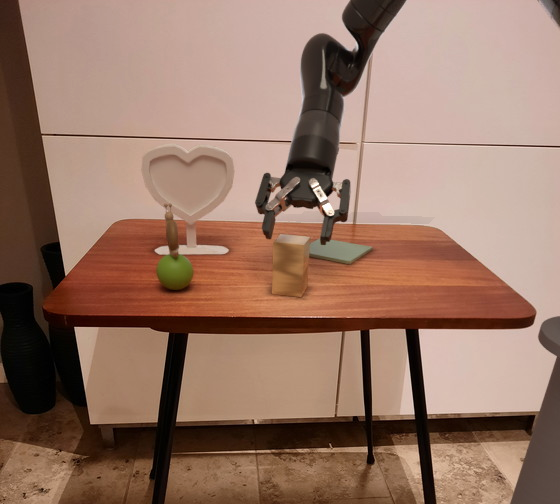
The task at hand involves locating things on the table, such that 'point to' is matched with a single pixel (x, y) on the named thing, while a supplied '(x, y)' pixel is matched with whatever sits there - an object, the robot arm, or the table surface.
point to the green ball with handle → (173, 259)
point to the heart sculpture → (188, 186)
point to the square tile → (338, 251)
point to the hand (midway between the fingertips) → (295, 239)
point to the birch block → (290, 265)
